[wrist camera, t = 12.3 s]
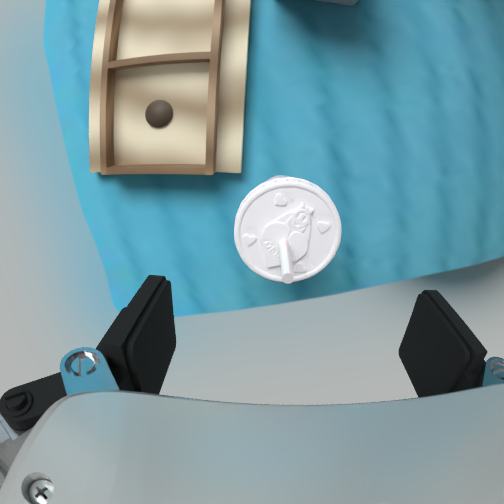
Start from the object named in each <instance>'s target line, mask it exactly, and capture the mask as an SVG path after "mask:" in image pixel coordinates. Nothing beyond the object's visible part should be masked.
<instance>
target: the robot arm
mask: <svg viewBox="0 0 504 504" xmlns="http://www.w3.org/2000/svg"><path fill="white" fill-rule="evenodd" d="M175 347H176V335H175V325H174V315H173V304H172V292H171V282H170V281H168V280H166V278H165V276H156V275H149V276H148V277H147V279H146V280H145V281H144V283H143V284H142V286H141V287H140V289H139V290H138V291H137V293H136V294H135V296H134V297H133V299H132V300H131V302H130V303H129V304H128V306H127V307H125V308H123V309H122V310H121V312H120V313H119V315H118V316H117V318H116V319H115V321H114V322H113V324H112V325H111V326H110V328H109V329H108V331H107V332H106V334H105V335H104V337H103V338H102V340H101V342H100V343H99V345H98V346H97V348H96V349H94V348H88V347H83V348H77V349H75V350H72V351H70V352H69V353H67V354H66V355H65V356H64V357H63V358H62V360H61V363H60V370H61V372H59V373H56V374H53V375H51V376H47V377H45V378H41V379H38V380H36V381H32V382H30V383H26V384H23V385H20V386H17V387H14V388H12V389H10V390H8V391H7V392H6V393H4V395H3V396H2V397H1V399H0V504H504V359H502V358H499V357H492V358H489V359H488V360H487V361H486V362H485V360H484V357H485V356H486V354H487V350H486V349H485V348H484V346H483V345H482V344H481V342H480V341H479V340H478V339H477V337H476V336H475V335H474V334H473V332H472V331H471V330H470V329H469V327H468V326H467V325H466V324H465V322H464V321H463V320H462V319H461V318H460V316H459V315H458V314H457V313H456V312H455V310H454V309H453V308H452V307H451V306H450V304H448V302H447V301H446V300H445V299H444V297H443V296H442V295H441V294H440V293H439V292H438V291H437V290H424V291H423V292H422V294H419V295H418V297H417V300H416V303H415V306H414V309H413V312H412V315H411V318H410V321H409V323H408V326H407V329H406V332H405V334H404V337H403V340H402V343H401V345H400V348H399V356H400V359H401V361H402V363H403V365H404V367H405V369H406V371H407V373H408V375H409V378H410V380H411V382H412V384H413V386H414V389H415V391H416V393H417V395H418V397H419V398H411V399H403V400H394V401H383V402H372V403H358V404H357V403H356V404H338V405H337V404H336V405H268V404H267V405H266V404H247V403H246V404H245V403H231V402H220V401H209V400H199V399H191V398H184V397H175V396H166V395H159V392H160V390H161V387H162V384H163V381H164V378H165V376H166V373H167V370H168V367H169V365H170V361H171V359H172V356H173V353H174V351H175Z"/></svg>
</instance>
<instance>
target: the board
mask: <svg viewBox="0 0 504 504" xmlns="http://www.w3.org/2000/svg"><path fill="white" fill-rule="evenodd" d="M250 14H251V0H100V2H99V8H98V14H97V20H96V27H95V35H94V43H93V53H92V64H91V78H90V99H89V153H90V172H101V175H113V174H195V175H213V174H214V173H215V172H228V173H241V172H242V156H243V136H244V116H245V97H246V79H247V62H248V45H249V29H250Z"/></svg>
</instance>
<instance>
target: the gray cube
mask: <svg viewBox="0 0 504 504" xmlns="http://www.w3.org/2000/svg"><path fill="white" fill-rule="evenodd" d="M315 1H323V2H330V3H336V4H342V5H348V6H354V5H355V4H356V3H357V1H358V0H315Z"/></svg>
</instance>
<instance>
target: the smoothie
mask: <svg viewBox="0 0 504 504" xmlns="http://www.w3.org/2000/svg"><path fill="white" fill-rule="evenodd" d="M234 238H235V244H236V247H237V250H238V252H239V254H240V256H241V258H242V260H243V261H244V262H245V263H246V265H247V266H248V267H249V268H250V269H252V270H253V271H254V272H255V273H257V274H259V275H260V276H262V277H264V278H267V279H270V280H273V281H278V282H284V283H287V284H289V283H291V282H295V281H300V280H304V279H307V278H309V277H311V276H313V275H315V274H317V273H318V272H320V271H321V270H322V269H324V268H325V267H326V266H327V265H328V264H329V263H330V261H331V260H332V259H333V257H334V256H335V254H336V252H337V250H338V247H339V244H340V240H341V221H340V217H339V214H338V212H337V210H336V207H335V205H334V203H333V202H332V200H331V199H330V197H329V196H328V194H327V193H325V192H324V191H323V190H322V189H321V188H320V187H318V186H317V185H315V184H313V183H311V182H309V181H307V180H305V179H300V178H294V177H288V176H284V175H278V176H274V177H272V178H270V179H268V180H267V181H266V182H264V183H262V184H260V185H259V186H257V187H256V188H255V189H253V190H252V191H250V192H249V194H248V195H247V196H246V197H245V199H244V200H243V201H242V202H241V205H240V207H239V209H238V212H237V214H236V219H235V226H234Z"/></svg>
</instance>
